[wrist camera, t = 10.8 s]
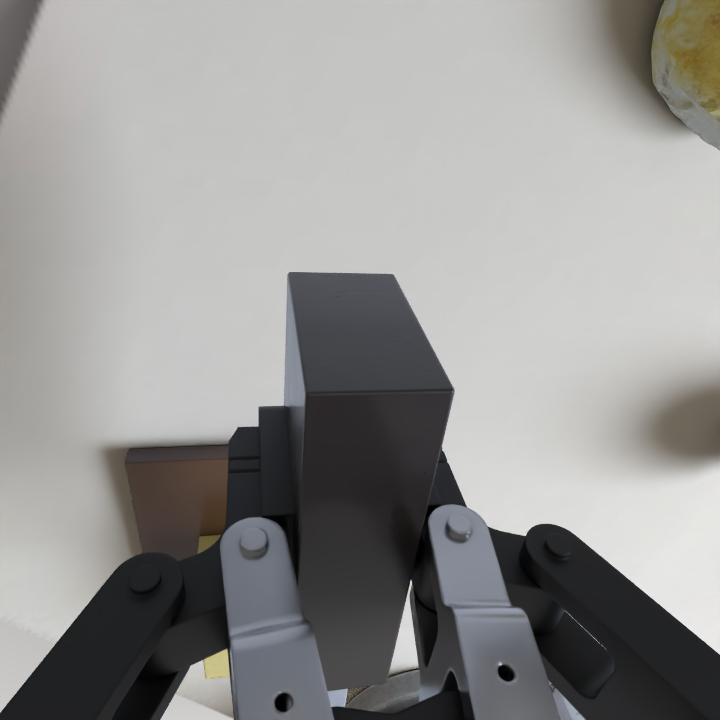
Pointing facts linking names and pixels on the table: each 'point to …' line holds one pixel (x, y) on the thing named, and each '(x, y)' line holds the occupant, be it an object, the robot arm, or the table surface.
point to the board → (178, 496)
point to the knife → (358, 462)
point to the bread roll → (690, 64)
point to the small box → (565, 708)
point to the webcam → (390, 694)
